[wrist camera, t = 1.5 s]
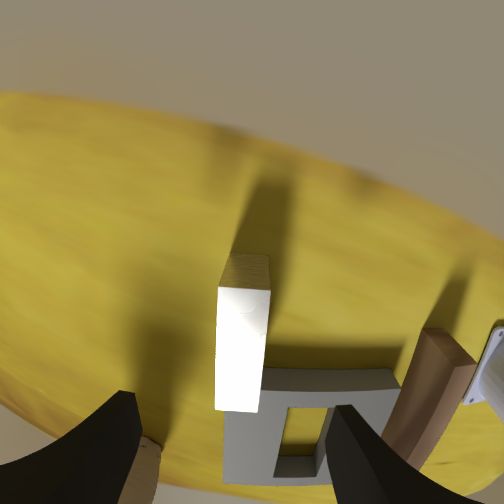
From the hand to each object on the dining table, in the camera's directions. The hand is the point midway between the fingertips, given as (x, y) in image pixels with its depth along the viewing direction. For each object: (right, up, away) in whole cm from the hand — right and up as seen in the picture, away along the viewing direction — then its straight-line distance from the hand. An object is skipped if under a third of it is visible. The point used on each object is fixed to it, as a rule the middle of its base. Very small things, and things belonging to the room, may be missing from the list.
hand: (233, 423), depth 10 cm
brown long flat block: (+13, -8, +12) cm, 19 cm away
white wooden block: (0, +3, +9) cm, 10 cm away
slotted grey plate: (+4, -7, +12) cm, 15 cm away
